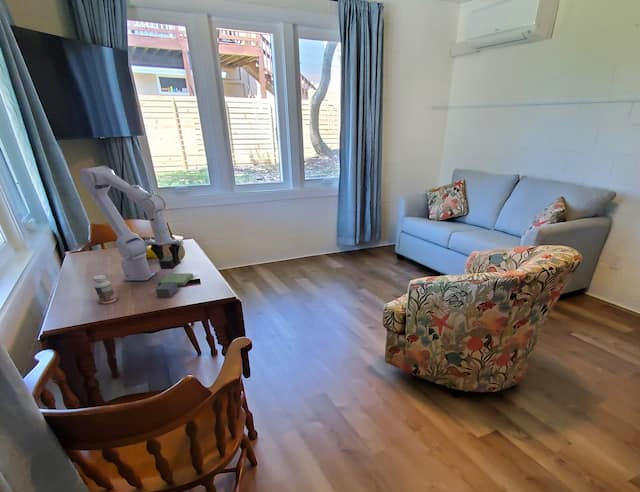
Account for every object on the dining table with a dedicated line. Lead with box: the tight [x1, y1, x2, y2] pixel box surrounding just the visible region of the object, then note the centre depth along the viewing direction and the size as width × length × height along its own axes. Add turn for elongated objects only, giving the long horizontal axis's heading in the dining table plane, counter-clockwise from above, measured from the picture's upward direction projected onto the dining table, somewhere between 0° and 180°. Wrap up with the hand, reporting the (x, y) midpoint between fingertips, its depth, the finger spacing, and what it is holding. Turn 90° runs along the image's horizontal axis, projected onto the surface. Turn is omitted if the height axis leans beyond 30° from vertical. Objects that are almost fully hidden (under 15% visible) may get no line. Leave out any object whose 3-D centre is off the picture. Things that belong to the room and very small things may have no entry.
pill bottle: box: [92, 274, 117, 304], centre depth 148 cm, size 5×5×10 cm
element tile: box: [145, 245, 158, 260], centre depth 197 cm, size 15×15×5 cm
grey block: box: [155, 282, 179, 298], centre depth 155 cm, size 5×7×3 cm
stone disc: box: [162, 244, 186, 261], centre depth 185 cm, size 10×4×10 cm, turn 119°
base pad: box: [158, 272, 194, 287], centre depth 167 cm, size 10×10×1 cm
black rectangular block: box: [158, 255, 181, 270], centre depth 162 cm, size 5×7×3 cm
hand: (169, 262), depth 162 cm, fingers closed on black rectangular block, 5 cm apart
